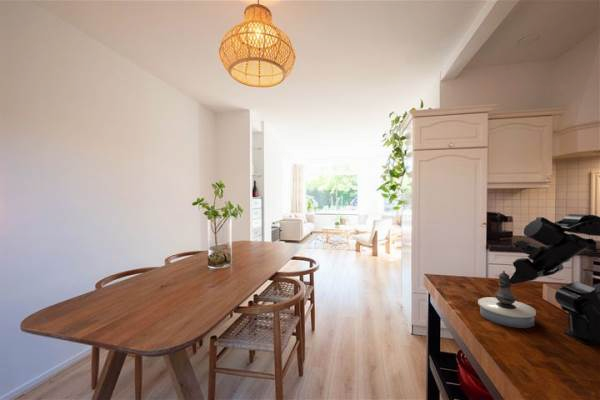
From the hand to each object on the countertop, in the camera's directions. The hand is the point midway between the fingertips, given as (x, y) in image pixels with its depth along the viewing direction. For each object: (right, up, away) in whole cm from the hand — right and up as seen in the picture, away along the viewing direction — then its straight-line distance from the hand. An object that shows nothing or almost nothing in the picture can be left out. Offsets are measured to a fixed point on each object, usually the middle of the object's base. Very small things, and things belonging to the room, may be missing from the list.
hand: (517, 280), depth 80 cm
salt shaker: (-2, -9, +2) cm, 10 cm away
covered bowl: (-2, -13, +2) cm, 14 cm away
